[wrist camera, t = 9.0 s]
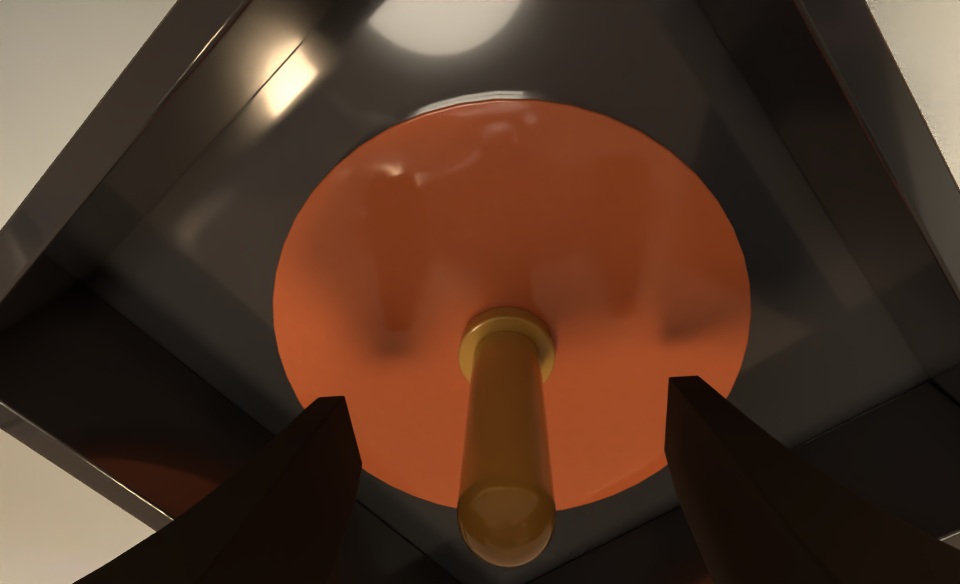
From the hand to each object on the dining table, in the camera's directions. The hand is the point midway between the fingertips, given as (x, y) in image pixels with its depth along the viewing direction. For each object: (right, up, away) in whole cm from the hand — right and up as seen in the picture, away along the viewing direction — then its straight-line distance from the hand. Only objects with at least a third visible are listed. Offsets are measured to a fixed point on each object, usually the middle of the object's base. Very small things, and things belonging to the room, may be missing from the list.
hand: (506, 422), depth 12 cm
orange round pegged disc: (0, +2, +4) cm, 4 cm away
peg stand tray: (0, +2, +4) cm, 5 cm away
